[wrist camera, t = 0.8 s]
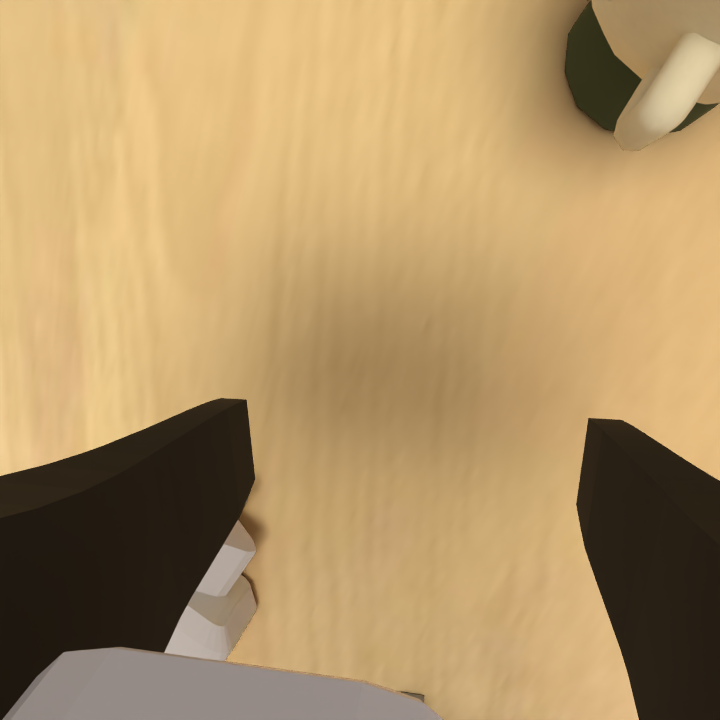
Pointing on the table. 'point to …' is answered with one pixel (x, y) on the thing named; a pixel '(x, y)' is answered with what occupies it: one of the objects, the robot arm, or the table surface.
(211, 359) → the table surface
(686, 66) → the character mug
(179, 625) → the charger
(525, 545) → the table surface
